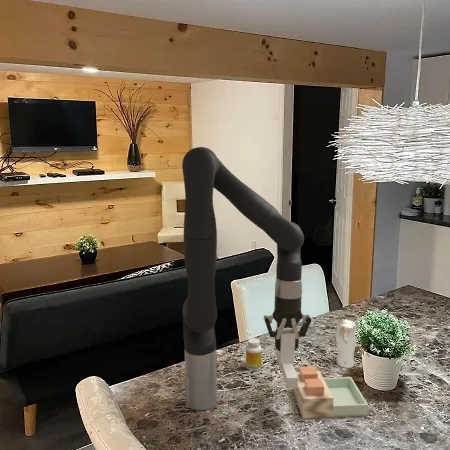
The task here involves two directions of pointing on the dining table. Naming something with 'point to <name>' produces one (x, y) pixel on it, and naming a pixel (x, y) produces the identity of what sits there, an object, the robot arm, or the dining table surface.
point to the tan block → (314, 400)
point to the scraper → (287, 358)
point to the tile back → (308, 373)
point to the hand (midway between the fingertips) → (286, 349)
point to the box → (346, 398)
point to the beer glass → (346, 342)
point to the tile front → (314, 387)
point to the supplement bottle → (253, 354)
